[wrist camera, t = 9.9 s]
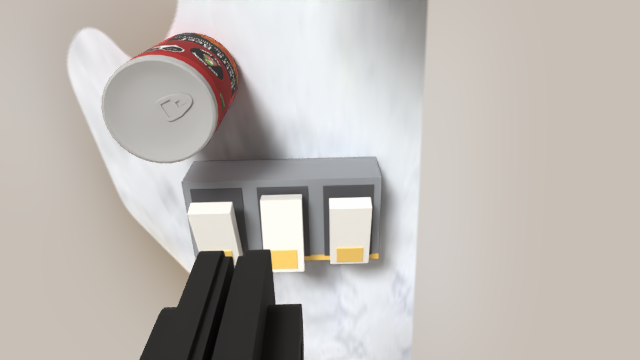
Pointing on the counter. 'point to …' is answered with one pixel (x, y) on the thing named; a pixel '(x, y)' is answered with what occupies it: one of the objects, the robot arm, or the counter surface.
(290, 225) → the rocker
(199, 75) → the canned food
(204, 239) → the rocker
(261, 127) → the counter surface
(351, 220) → the rocker
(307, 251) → the switch unit
